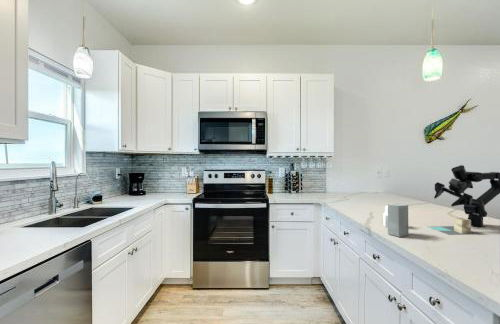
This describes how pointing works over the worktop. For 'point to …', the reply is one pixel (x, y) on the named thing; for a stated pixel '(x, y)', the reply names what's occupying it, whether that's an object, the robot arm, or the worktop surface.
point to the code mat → (450, 230)
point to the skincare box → (398, 220)
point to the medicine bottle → (385, 217)
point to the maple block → (462, 225)
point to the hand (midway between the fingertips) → (442, 201)
